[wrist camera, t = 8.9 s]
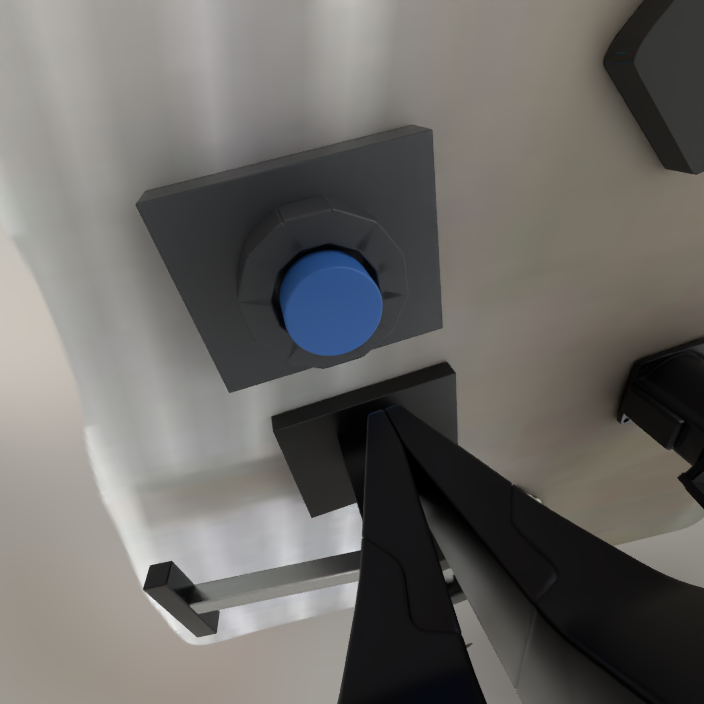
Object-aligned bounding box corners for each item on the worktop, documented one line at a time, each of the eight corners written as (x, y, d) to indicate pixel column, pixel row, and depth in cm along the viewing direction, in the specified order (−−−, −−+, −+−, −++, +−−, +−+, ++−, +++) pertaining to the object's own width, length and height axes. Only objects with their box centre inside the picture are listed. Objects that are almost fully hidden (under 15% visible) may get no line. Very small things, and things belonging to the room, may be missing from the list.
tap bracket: (308, 503, 28) (339, 665, 20) (271, 416, 23) (293, 589, 15) (451, 455, 29) (532, 590, 22) (447, 361, 24) (552, 496, 16)
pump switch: (412, 124, 16) (457, 134, 13) (427, 310, 22) (461, 349, 18) (144, 191, 15) (121, 219, 12) (229, 369, 20) (229, 422, 17)
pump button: (361, 237, 15) (375, 254, 13) (375, 319, 17) (388, 340, 15) (266, 263, 14) (271, 283, 13) (293, 343, 16) (299, 368, 15)
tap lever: (203, 602, 23) (194, 652, 21) (153, 551, 19) (137, 605, 17) (441, 553, 22) (455, 598, 21) (436, 492, 19) (452, 540, 17)
